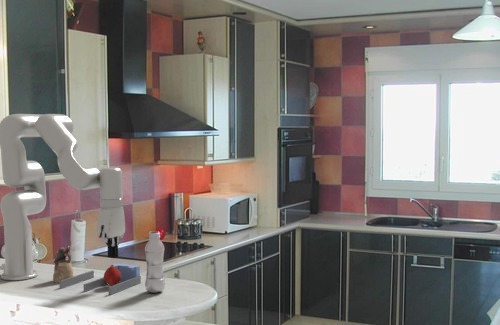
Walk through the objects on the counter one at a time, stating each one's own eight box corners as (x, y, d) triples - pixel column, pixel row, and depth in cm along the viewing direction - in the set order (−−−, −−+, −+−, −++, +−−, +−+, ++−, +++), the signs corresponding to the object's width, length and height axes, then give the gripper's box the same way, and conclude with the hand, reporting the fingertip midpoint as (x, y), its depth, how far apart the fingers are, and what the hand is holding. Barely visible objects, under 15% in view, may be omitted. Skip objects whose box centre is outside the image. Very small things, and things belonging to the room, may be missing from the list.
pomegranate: (100, 287, 209) (100, 264, 208) (115, 284, 213) (114, 261, 212) (110, 290, 205) (109, 266, 204) (124, 286, 209) (124, 263, 208)
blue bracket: (109, 282, 215) (109, 265, 215) (115, 280, 218) (115, 263, 218) (134, 285, 211) (133, 268, 211) (139, 282, 214) (139, 266, 214)
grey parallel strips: (59, 288, 207) (59, 281, 207) (92, 277, 223) (91, 270, 223) (110, 295, 199) (110, 287, 198) (140, 282, 214) (140, 275, 214)
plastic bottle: (141, 293, 200) (140, 233, 199) (152, 288, 206) (151, 230, 205) (158, 295, 198) (157, 234, 197) (168, 290, 204) (167, 231, 203)
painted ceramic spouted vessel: (60, 277, 223) (59, 245, 222) (77, 278, 221) (76, 246, 220) (49, 282, 216) (48, 248, 215) (66, 283, 214) (65, 249, 213)
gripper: (116, 201, 215) (117, 252, 216) (88, 206, 202) (90, 260, 203) (133, 201, 212) (135, 253, 213) (106, 206, 199) (108, 262, 199)
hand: (113, 257), depth 208 cm, fingers closed
